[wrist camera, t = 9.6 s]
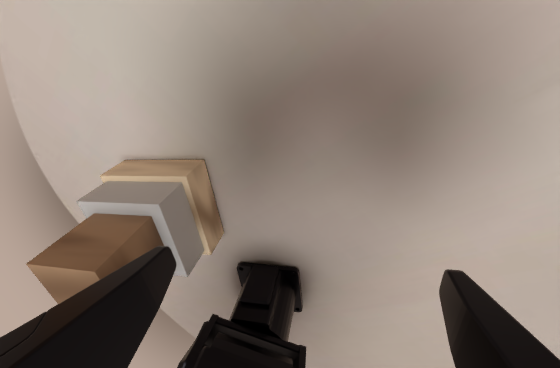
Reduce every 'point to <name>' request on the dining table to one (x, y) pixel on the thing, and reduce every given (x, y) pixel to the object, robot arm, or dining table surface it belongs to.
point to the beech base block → (194, 186)
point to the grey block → (152, 214)
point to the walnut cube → (93, 252)
